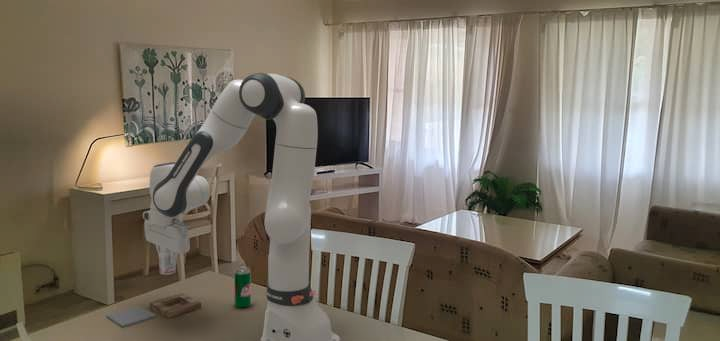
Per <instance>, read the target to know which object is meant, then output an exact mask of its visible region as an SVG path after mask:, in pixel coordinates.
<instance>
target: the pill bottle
mask: <svg viewBox="0 0 720 341" xmlns="http://www.w3.org/2000/svg"><path fill="white" fill-rule="evenodd" d="M170 257H171V253H170V250H168V249H166V248H164V247H162V246H160V253H159V256H158V262H159V263H158V265H159V266H158V267H159V274H160V275H165V276H167V275H173V274H174V273H176V271H177V263H176V264H171V263H169V258H170Z"/></svg>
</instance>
